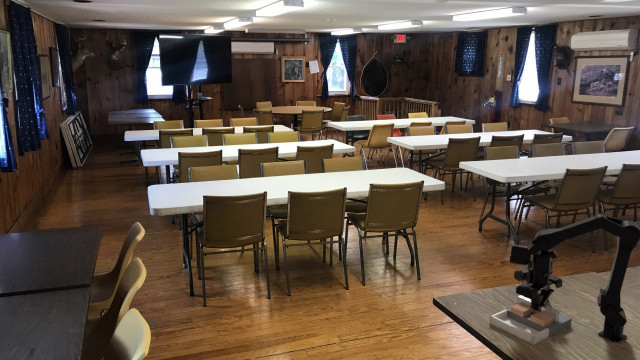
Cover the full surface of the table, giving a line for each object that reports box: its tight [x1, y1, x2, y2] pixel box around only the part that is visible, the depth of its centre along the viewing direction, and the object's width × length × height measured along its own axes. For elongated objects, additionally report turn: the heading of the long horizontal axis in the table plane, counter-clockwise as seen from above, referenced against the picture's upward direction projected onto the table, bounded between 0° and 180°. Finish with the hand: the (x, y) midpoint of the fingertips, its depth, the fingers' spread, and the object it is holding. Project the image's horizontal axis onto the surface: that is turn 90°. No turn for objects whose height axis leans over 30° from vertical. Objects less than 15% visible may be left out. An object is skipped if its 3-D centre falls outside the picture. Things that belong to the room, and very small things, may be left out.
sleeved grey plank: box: [516, 295, 560, 322], centre depth 176 cm, size 2×15×4 cm, turn 33°
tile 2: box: [531, 312, 553, 327], centre depth 171 cm, size 5×5×2 cm
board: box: [505, 307, 573, 338], centre depth 177 cm, size 13×17×3 cm
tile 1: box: [510, 303, 532, 317], centre depth 178 cm, size 5×5×2 cm
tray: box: [489, 309, 550, 346], centre depth 171 cm, size 8×17×3 cm, turn 33°
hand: (537, 308), depth 176 cm, fingers closed on sleeved grey plank, 2 cm apart
